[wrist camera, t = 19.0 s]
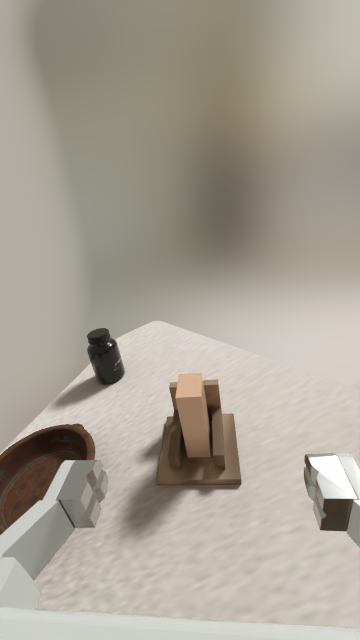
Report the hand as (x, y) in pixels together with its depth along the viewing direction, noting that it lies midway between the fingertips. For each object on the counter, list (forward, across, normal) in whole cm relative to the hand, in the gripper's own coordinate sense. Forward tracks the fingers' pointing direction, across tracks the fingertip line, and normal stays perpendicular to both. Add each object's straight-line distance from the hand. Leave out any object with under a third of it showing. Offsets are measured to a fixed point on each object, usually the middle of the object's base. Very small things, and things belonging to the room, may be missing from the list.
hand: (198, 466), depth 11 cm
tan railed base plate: (+23, +4, +28) cm, 37 cm away
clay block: (+23, +4, +27) cm, 36 cm away
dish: (+16, +27, +28) cm, 43 cm away
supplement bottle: (+44, +26, +28) cm, 58 cm away
